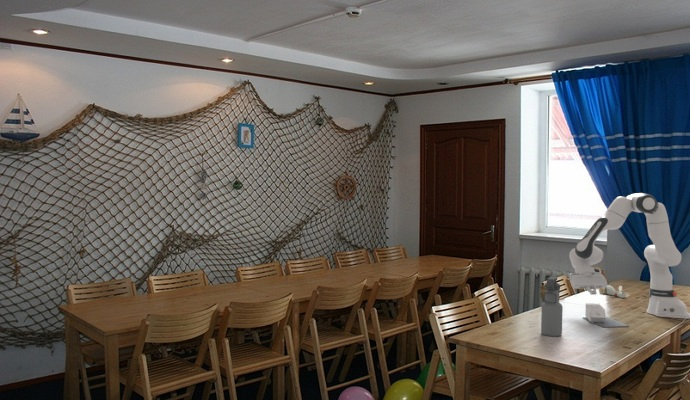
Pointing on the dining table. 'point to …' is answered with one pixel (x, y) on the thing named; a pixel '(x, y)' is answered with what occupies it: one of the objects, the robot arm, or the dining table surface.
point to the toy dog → (613, 291)
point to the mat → (609, 323)
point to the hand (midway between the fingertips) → (593, 294)
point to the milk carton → (595, 312)
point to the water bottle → (551, 309)
